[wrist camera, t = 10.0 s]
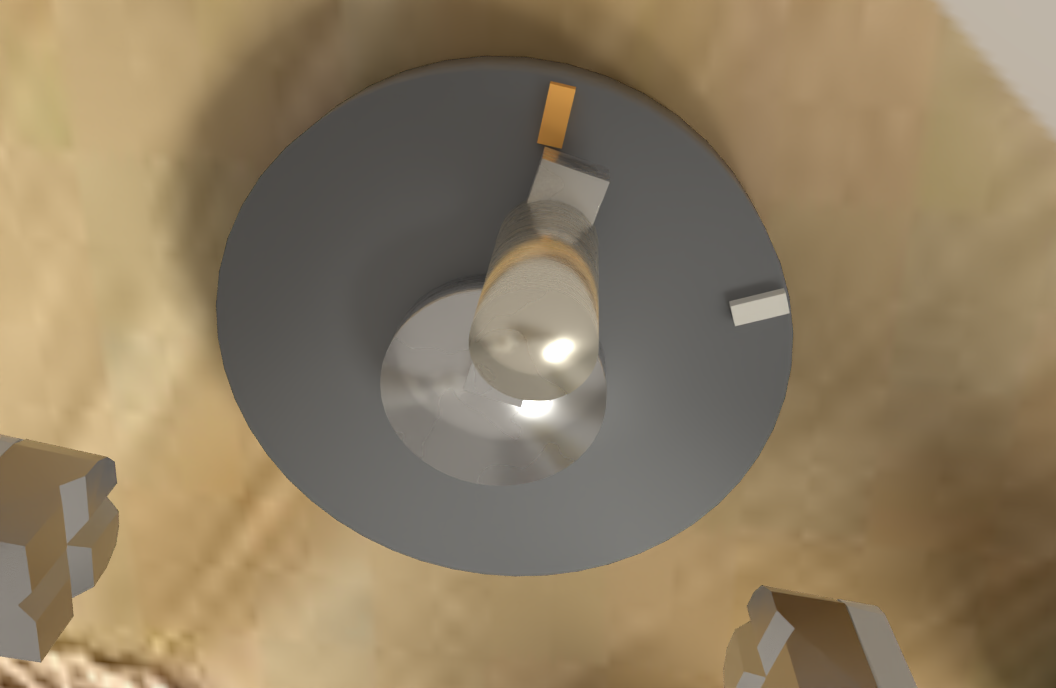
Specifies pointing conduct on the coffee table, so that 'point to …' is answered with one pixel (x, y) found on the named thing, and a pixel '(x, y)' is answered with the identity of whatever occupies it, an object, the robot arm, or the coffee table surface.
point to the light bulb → (510, 344)
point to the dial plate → (466, 249)
